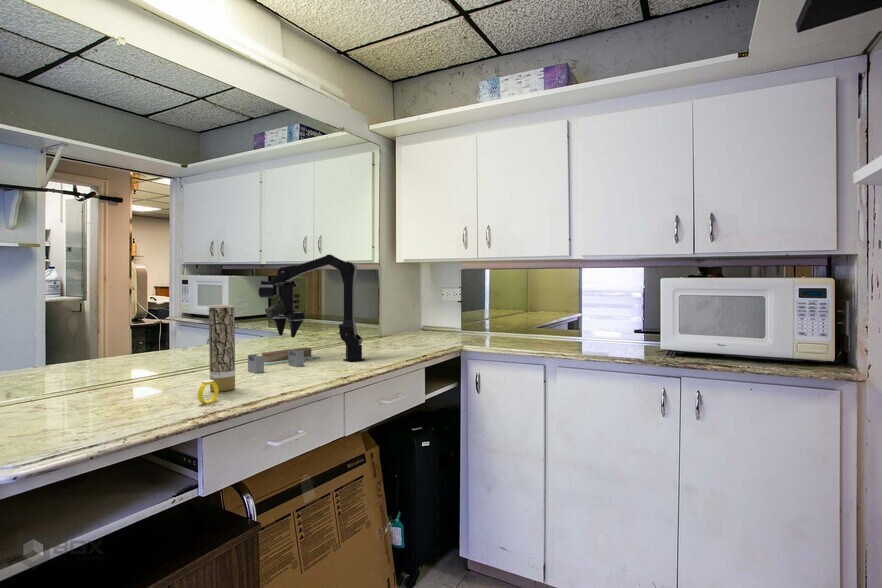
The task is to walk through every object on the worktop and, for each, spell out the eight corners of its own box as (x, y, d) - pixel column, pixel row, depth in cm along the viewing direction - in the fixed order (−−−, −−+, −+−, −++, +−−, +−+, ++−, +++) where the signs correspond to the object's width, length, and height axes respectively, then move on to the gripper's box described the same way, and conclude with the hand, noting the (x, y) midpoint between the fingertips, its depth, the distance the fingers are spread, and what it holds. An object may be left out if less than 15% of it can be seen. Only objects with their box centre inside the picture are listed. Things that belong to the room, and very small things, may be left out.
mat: (319, 358, 196) (319, 356, 196) (265, 365, 178) (265, 364, 178) (307, 355, 202) (307, 354, 202) (253, 362, 184) (253, 361, 184)
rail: (311, 356, 197) (311, 348, 197) (266, 362, 182) (266, 353, 182) (306, 355, 199) (306, 347, 199) (261, 361, 184) (261, 352, 184)
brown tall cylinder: (225, 392, 135) (224, 306, 135) (204, 391, 137) (203, 305, 136) (240, 387, 142) (239, 304, 141) (220, 386, 143) (219, 304, 143)
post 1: (264, 372, 166) (263, 355, 166) (255, 373, 164) (255, 356, 164) (256, 370, 170) (255, 354, 170) (247, 371, 168) (247, 355, 167)
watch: (204, 407, 121) (203, 384, 121) (195, 406, 122) (194, 383, 122) (221, 399, 127) (220, 378, 127) (213, 399, 128) (211, 377, 127)
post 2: (303, 365, 178) (303, 350, 178) (296, 367, 176) (296, 351, 176) (295, 364, 182) (295, 349, 182) (288, 365, 180) (288, 350, 179)
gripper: (256, 297, 190) (256, 336, 190) (280, 299, 177) (280, 340, 178) (281, 297, 198) (281, 334, 199) (306, 298, 186) (306, 337, 186)
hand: (286, 336), depth 190 cm, fingers open, 9 cm apart
